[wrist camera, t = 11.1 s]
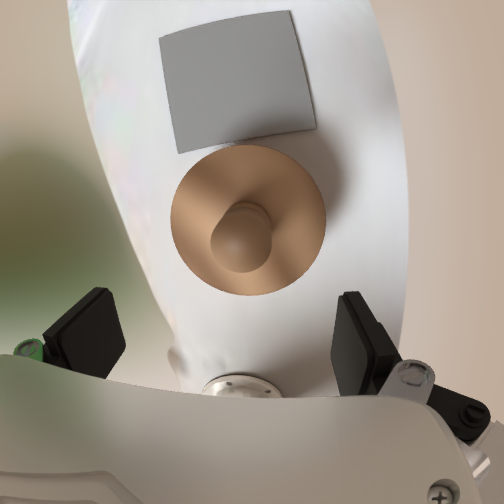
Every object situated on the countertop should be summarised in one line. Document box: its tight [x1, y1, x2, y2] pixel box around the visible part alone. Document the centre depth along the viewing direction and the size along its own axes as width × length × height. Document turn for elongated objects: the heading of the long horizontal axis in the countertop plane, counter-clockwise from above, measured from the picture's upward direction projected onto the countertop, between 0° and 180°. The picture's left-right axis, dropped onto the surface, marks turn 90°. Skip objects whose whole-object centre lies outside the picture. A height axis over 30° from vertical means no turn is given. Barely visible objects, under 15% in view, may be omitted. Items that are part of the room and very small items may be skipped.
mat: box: [159, 10, 316, 154], centre depth 24 cm, size 14×14×1 cm
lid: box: [171, 145, 326, 296], centre depth 21 cm, size 13×13×6 cm
